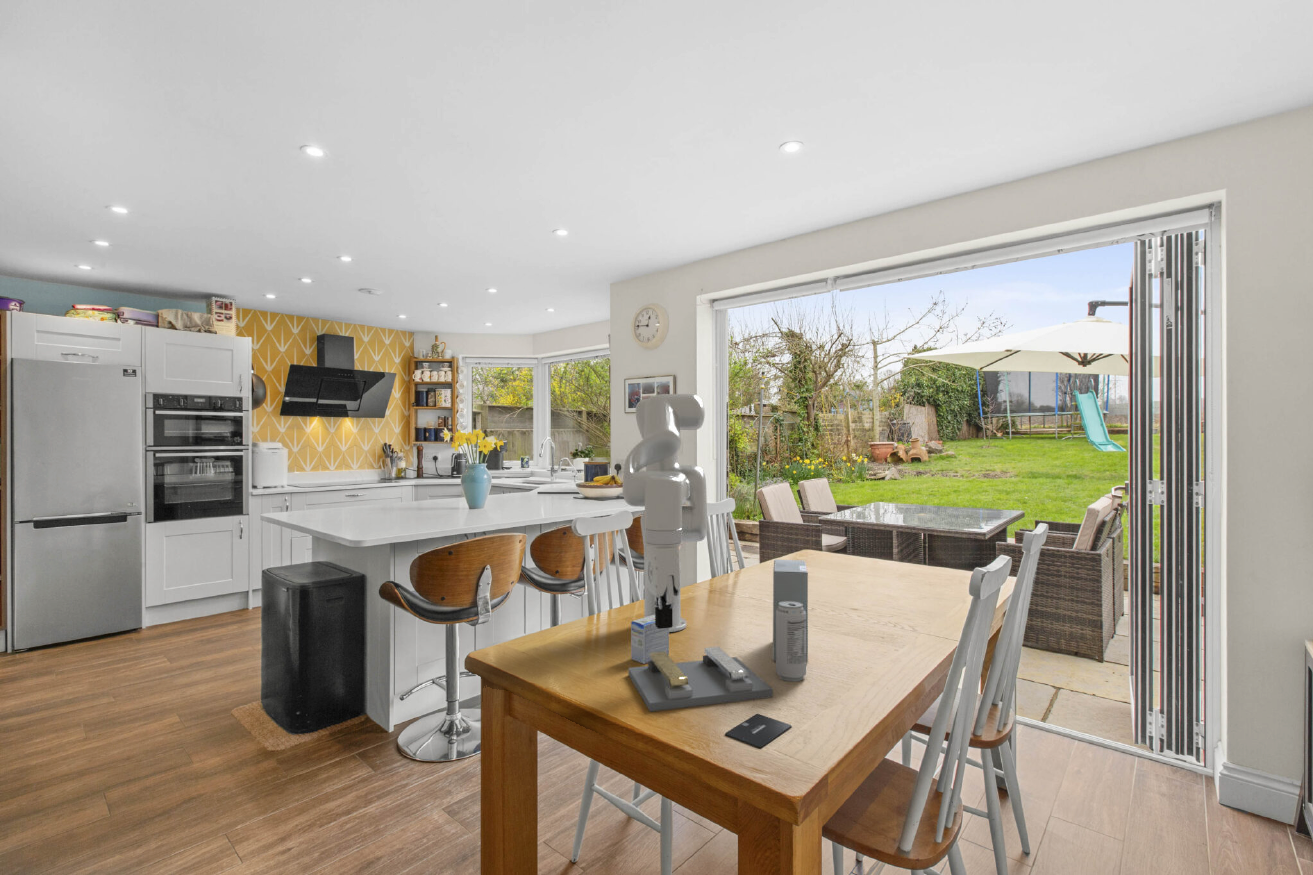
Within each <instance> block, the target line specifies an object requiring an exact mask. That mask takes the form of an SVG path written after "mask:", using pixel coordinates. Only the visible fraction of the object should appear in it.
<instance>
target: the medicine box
mask: <svg viewBox="0 0 1313 875" xmlns="http://www.w3.org/2000/svg"><path fill="white" fill-rule="evenodd" d="M630 624H631V625H630V630H631V631H630V634H631V635H630V640H631V641H630V642H631V643H630V645H631V646H630V647H631V648H630V650H631V652H630V653H631V654H630V655H631V656H630V658H631V660H633V661H634V662H637V661H638V663H640V664H643V665H644V664H648V661H652V659H651V658H650V653H654V652H664V651H665V652H666V653H667V654H668V656H669V655H670V632H669V628H663V629H658V628H657V627H656V625H655V615H651V616H648V617H645V616H644V617H641V618H638V619H635V620H632V621H631V622H630Z"/></svg>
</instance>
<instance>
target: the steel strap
mask: <svg viewBox="0 0 1313 875" xmlns="http://www.w3.org/2000/svg"><path fill="white" fill-rule="evenodd" d="M704 653H705V655H708V656H709V657H710V658H711V659H712V660H713V661H714V662H715V663H716V664H717V665H718V666H719V667H720V668H721V669H722V670H723V671H724V672H725V673H726V674H727V675H728V676H729V677H730V679H731V680H739V679H748V677H749V675H748V671H747V670H745V669H743V668H742V667H741V666H740V665H739V664H738V663H737V662H736V661H734V660H733V659H732V658H731V657H732V656H730V655H729V654H728V653H727V652H726V651H724V650H723V649H722V648H721V647H720V646H711V647H704Z"/></svg>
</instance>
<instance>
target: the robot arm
mask: <svg viewBox="0 0 1313 875" xmlns="http://www.w3.org/2000/svg"><path fill="white" fill-rule="evenodd" d="M705 412H706V411H705V405H704V401H703V400H702V398H701V397H700V396H699V395H697V394H695V393H694V394H693V393H661V394H656V395H652V396H651V397H650V398H645V399H642V400H640V401H638V402H637V404H636V406H635V419H636V425H637V427H638V431H639V434H640V436H641V439H642V440H641V441H639V442H638V443H637V444H636V445H635V446H634V447H633V448H631V450H630V451H629V452H628V455H627V456H626V458H625V461H624V465H623V472H622V474H623V476H622V496H623V498H624V501H625V503H626V504H627V505H629V506H630V507H631V506H632V507H635V508H636V507H642V508H643V507H644V510H643V511H642V513H641V516H640V528H641V536H642V542H643V544H642V545H643V558H644V559H643V562H644V563H643V565H644V566H643V570H644V571H643V572H644V573H643V574H644V575H643V576H644V578H643V579H644V580H643V581H644V587H643V588H644V590H643V592H644V594H643V595H644V598H643V601H644V603H643V604H644V610H643V612H644V617H648V616H651V615H655V625H656V627H657V628H658V629H663V628H669V633H674V632H679V631H682V630H684V629H685V628H686V627H687V620H686V619H685V618H683V617H682V616H681V559H680V553H679V552H680V551H679V547H680V546H682V545H683V543H697V542H702V541H703V540H704V539H706V537H707V532H708V502H707V501H708V500H707V499H708V498H707V480H706V475H705V472H704V470H703V468H702V467H701V466H699V465H696V464H679V463H678V452H679V449H680V447H681V443H682V442H681V439H682V438H681V431H695V430H699V429H701V428H702V426H703V424H704V421H705V416H706V413H705ZM643 468H645V471H643V470H642V469H643ZM686 502H688V503H689V505H684V504H685V503H686Z"/></svg>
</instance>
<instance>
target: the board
mask: <svg viewBox="0 0 1313 875" xmlns="http://www.w3.org/2000/svg"><path fill="white" fill-rule="evenodd" d="M730 657H731V658H732V659H733V660H734V661H736V662H737V663H738V664H739V665H740V666H741V667H742V668H743V669H745V670H747V671H748V675H749V677H748V679H739V680H731V679H730V677H729V676H728V675H727V674H726V673H725V672H724V671H723V670H722V669H721V668H720V667H719V666H718V665H717V664H716V663H715V662H714V661H713V660H712V659H711V658H710V657H709V656H708V655H707V654H705V655H702V659H701V660H693V661H685V662H684V661H683V662H674V663H675V664H676V665H677V667H678V668H679V669H680V670H681V671H682V673H683V674H684V675H685V676H687V677H688V685H686V686H677V687H670V684H669V683H668V681H667V680H666V679H665V677H664V676H663V674H662V673H661V672H660V670H659V669H658V668H657V666H656V665H655V664H654V662H653V661H648V663H647V665H646V666H635V667H628V677H629V678H630V680H631V682H632V684H633V685H634V687H635V689H636V690H637V692H638V693H639V696H640V697H641V698H642V700H643V702H644V704H645V705H646V707H647V709H648V710H649V713H652V712H656V711H657V712H658V711H667V710H675V709H684V708H692V707H693V708H694V707H698V706H699V707H701V706H707V705H714V704H715V705H716V704H724V703H725V704H726V703H733V702H741V701H749V700H758V699H764V698H765V699H766V698H772V697H773V694H774V693H773V691H774V690H773V687H771V685H769V684H768V683H767V682H766V681H764V680H763V679H762V678H761V677H760V676H759V675H757V674H756V673H755V672H754V671H753V670H752V669H750V667H748V666H747V665H746V664H745V663H744V662H743V661H741V660H740V659H739V658H738V657H737V656H733V657H732V656H730Z"/></svg>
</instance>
